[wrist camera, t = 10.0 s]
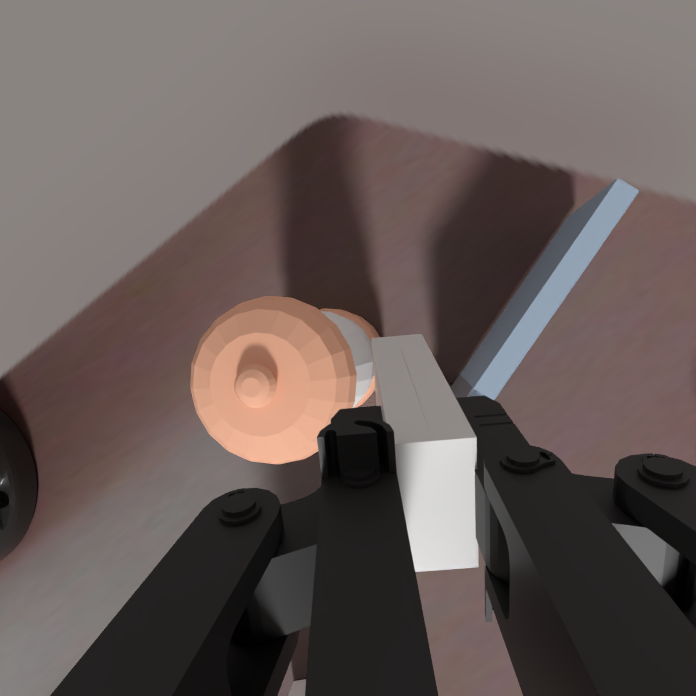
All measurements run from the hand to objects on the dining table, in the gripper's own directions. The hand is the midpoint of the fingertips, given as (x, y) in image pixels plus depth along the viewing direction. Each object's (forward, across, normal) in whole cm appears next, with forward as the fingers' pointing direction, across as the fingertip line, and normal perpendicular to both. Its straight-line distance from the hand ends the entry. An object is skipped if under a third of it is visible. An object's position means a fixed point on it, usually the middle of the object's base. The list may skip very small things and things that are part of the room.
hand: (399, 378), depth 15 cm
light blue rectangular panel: (+19, +9, -4) cm, 21 cm away
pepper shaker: (+21, -3, -6) cm, 22 cm away
